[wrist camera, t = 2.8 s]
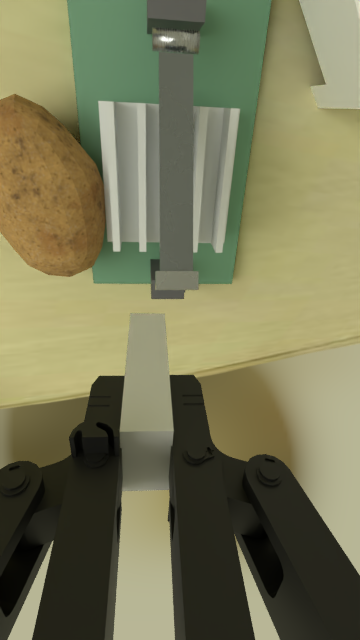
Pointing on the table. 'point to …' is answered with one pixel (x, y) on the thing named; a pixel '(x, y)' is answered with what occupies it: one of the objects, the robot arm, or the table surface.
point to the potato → (48, 191)
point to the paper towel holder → (335, 50)
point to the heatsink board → (139, 80)
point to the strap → (176, 157)
